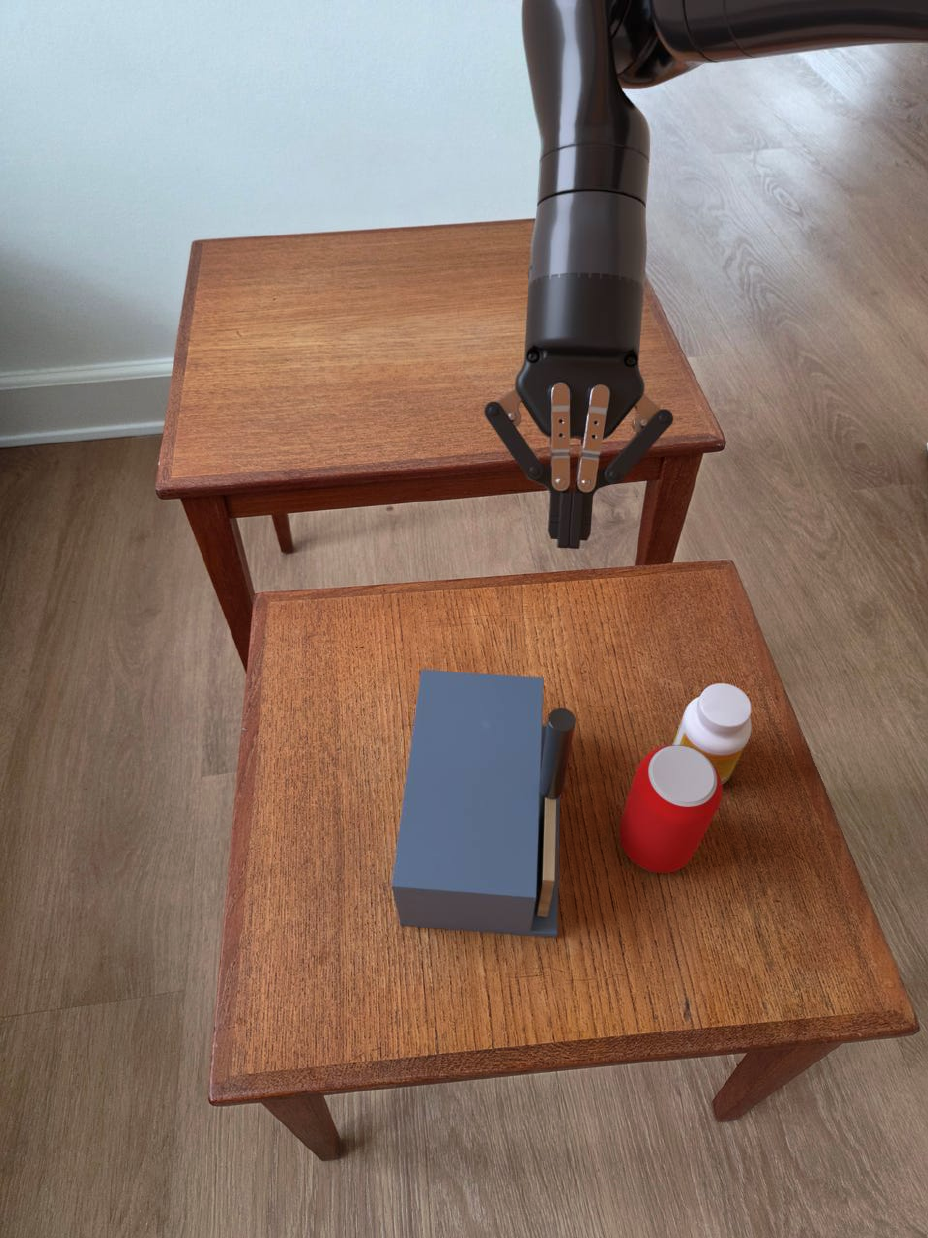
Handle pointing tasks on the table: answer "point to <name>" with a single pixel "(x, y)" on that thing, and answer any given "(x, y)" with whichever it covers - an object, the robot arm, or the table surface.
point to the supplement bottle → (717, 726)
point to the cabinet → (474, 807)
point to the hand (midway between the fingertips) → (568, 547)
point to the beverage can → (669, 808)
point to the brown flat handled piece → (552, 797)
